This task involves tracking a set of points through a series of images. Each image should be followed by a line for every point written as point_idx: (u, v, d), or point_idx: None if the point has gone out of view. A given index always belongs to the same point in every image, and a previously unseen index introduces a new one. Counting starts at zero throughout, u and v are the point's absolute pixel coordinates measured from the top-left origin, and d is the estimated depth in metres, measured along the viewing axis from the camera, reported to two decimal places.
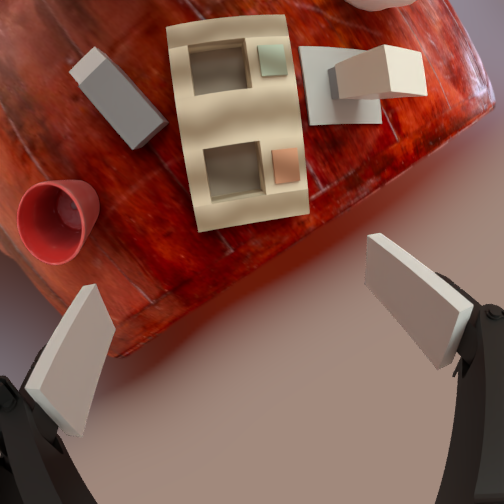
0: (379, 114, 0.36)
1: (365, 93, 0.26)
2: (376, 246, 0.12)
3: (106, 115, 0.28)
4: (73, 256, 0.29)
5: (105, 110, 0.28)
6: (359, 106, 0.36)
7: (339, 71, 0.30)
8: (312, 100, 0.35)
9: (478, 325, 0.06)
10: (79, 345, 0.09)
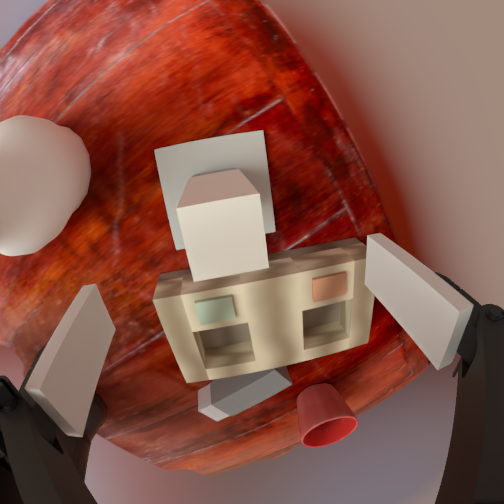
0: (250, 134, 0.29)
1: None
2: (377, 246, 0.12)
3: (260, 400, 0.41)
4: (356, 419, 0.40)
5: (256, 401, 0.41)
6: (244, 167, 0.30)
7: None
8: None
9: (478, 325, 0.06)
10: (79, 345, 0.09)
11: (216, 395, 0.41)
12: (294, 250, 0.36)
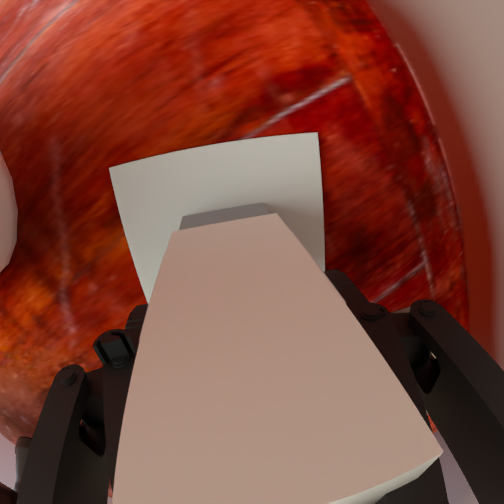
0: (293, 140, 0.15)
1: None
2: None
3: None
4: None
5: None
6: (280, 202, 0.16)
7: None
8: None
9: None
10: None
11: None
12: None
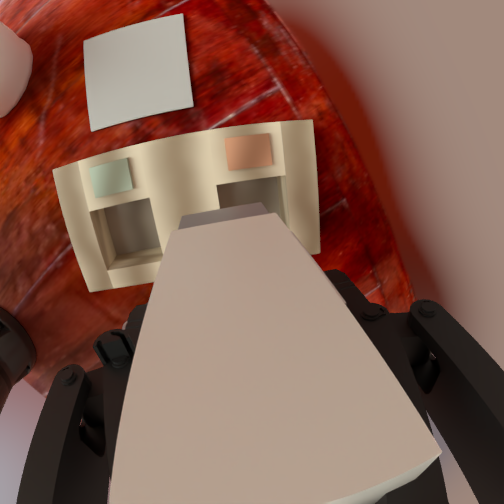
0: (170, 18, 0.22)
1: None
2: None
3: None
4: None
5: None
6: (161, 45, 0.24)
7: None
8: (159, 106, 0.27)
9: None
10: None
11: None
12: None
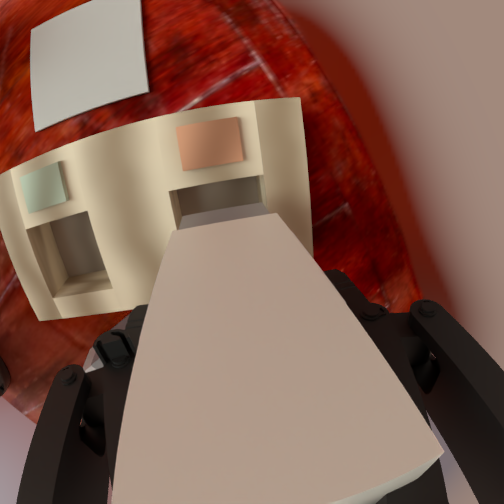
0: None
1: None
2: None
3: None
4: None
5: None
6: (112, 22, 0.16)
7: None
8: (108, 94, 0.19)
9: None
10: None
11: None
12: None
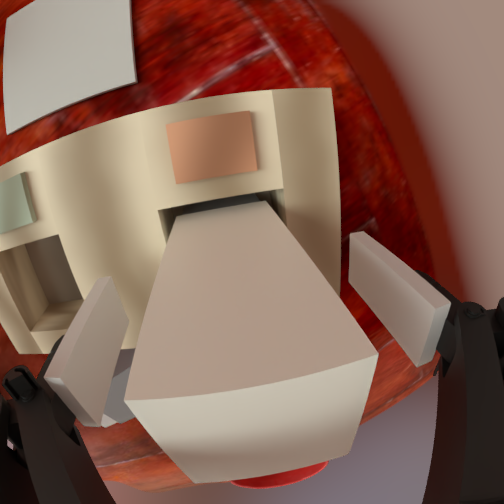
0: None
1: None
2: (358, 244, 0.12)
3: None
4: None
5: None
6: (96, 2, 0.12)
7: None
8: (88, 87, 0.15)
9: (456, 324, 0.07)
10: (97, 335, 0.10)
11: None
12: None
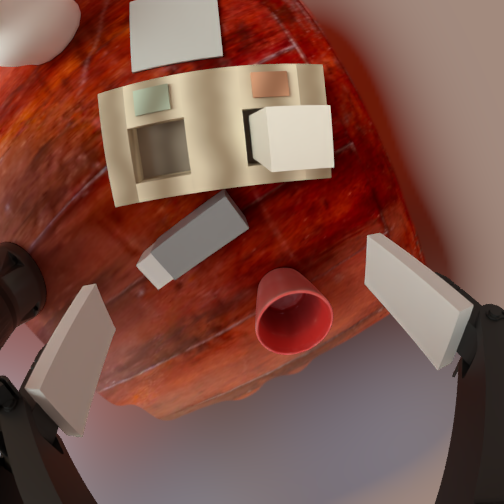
0: None
1: None
2: (377, 246, 0.12)
3: (209, 252, 0.36)
4: (329, 305, 0.36)
5: (204, 253, 0.36)
6: (197, 8, 0.26)
7: None
8: (194, 54, 0.29)
9: (478, 325, 0.06)
10: (79, 345, 0.09)
11: (158, 243, 0.36)
12: None
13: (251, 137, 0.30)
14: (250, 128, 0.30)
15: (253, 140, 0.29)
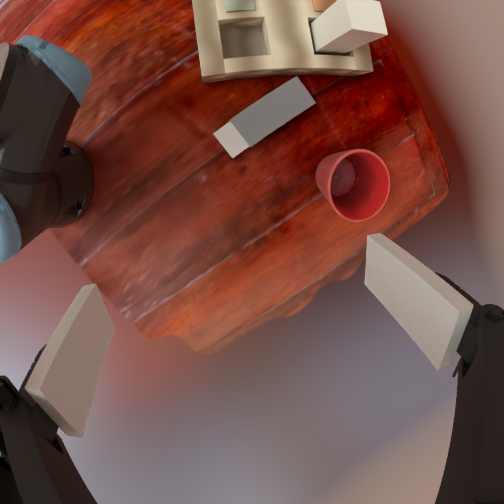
0: None
1: (366, 43, 0.27)
2: (376, 246, 0.12)
3: (283, 121, 0.38)
4: (386, 168, 0.38)
5: (279, 122, 0.38)
6: None
7: (326, 50, 0.33)
8: None
9: (478, 325, 0.06)
10: (79, 345, 0.09)
11: None
12: None
13: (314, 36, 0.32)
14: (313, 30, 0.31)
15: (318, 35, 0.31)
